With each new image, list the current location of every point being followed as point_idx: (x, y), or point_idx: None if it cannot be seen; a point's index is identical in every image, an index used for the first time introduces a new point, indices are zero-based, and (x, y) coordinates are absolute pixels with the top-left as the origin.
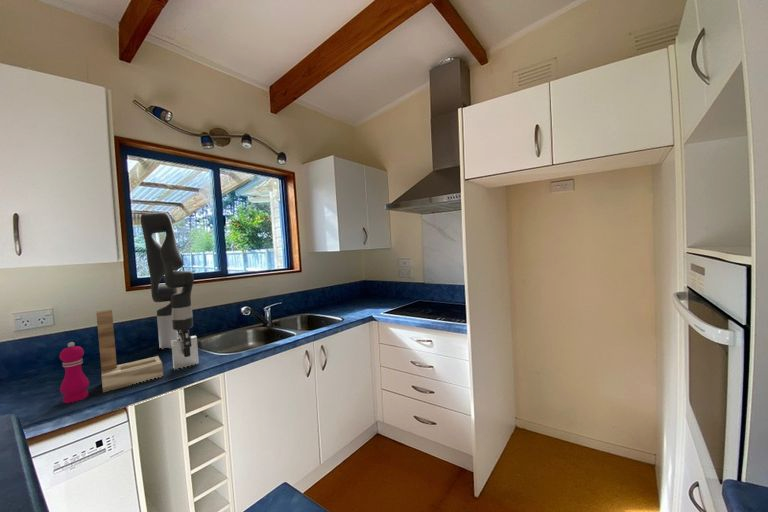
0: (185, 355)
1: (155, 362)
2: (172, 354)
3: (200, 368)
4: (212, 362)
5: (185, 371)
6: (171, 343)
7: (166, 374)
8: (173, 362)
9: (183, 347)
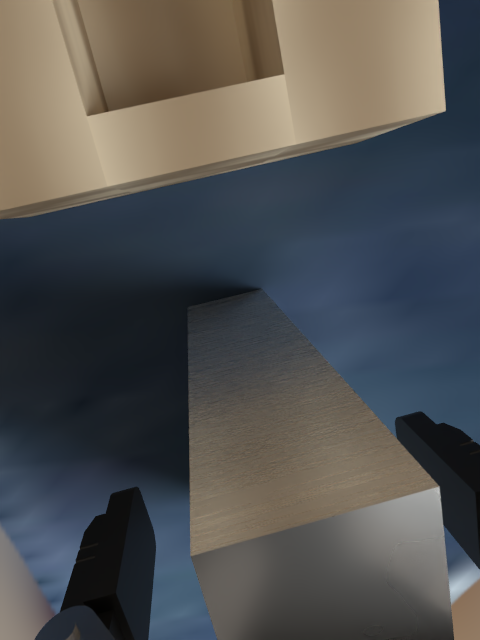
0: (112, 514)
1: (40, 106)
2: (280, 342)
3: (78, 522)
4: (194, 592)
5: (69, 409)
6: (374, 437)
7: (86, 242)
8: (229, 318)
9: (49, 634)
